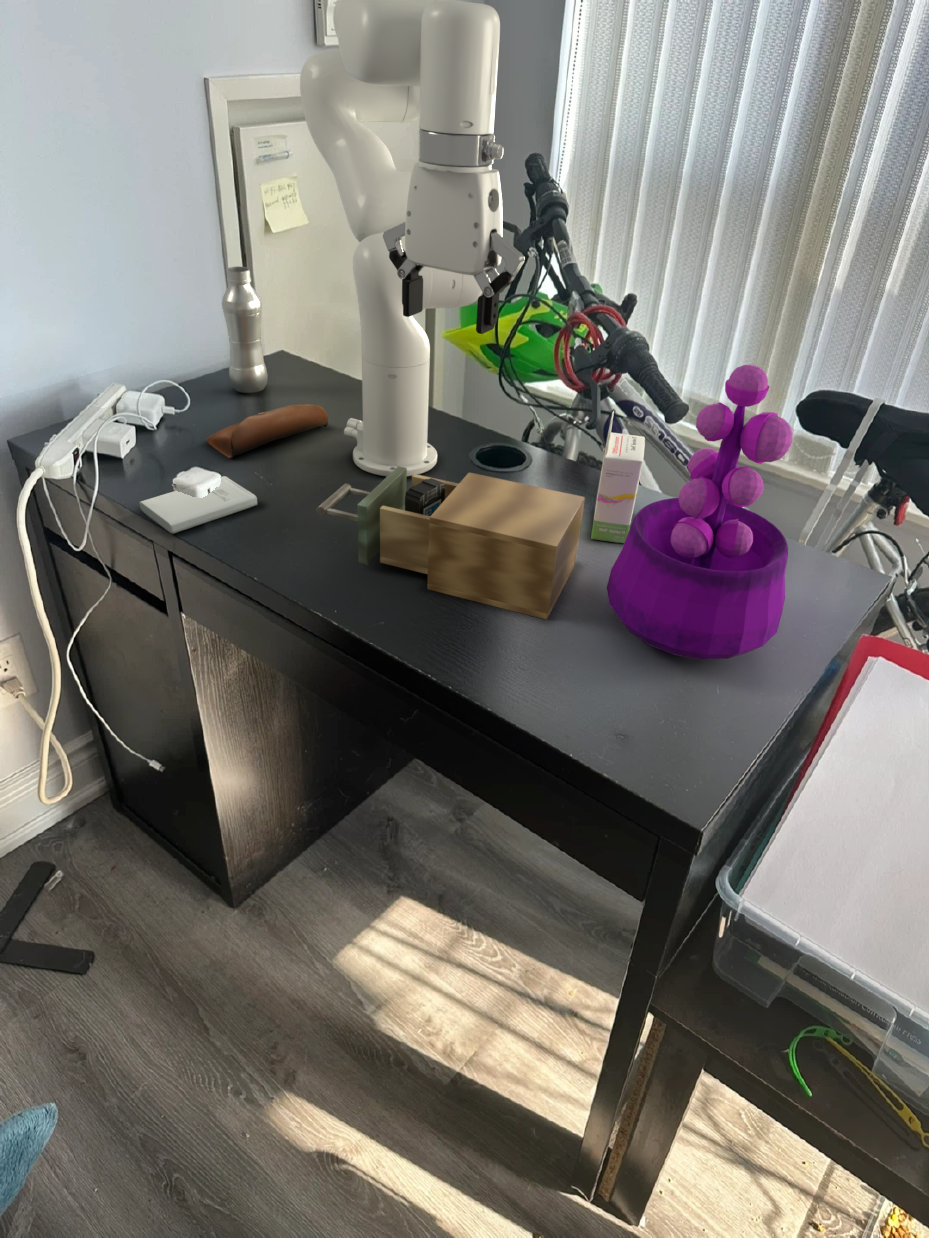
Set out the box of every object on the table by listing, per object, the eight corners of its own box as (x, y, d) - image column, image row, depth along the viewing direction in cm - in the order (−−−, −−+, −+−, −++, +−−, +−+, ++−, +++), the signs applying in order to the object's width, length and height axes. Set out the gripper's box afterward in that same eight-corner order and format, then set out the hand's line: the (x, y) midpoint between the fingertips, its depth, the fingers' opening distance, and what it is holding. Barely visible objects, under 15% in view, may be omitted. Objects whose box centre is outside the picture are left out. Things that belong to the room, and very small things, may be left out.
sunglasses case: (295, 410, 138) (307, 382, 133) (320, 442, 137) (333, 415, 132) (201, 440, 127) (209, 411, 122) (227, 475, 126) (237, 447, 121)
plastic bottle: (224, 395, 143) (210, 272, 132) (239, 382, 149) (227, 262, 137) (260, 399, 143) (249, 276, 131) (274, 386, 148) (265, 266, 137)
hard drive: (141, 511, 109) (224, 484, 117) (172, 536, 105) (257, 506, 112) (138, 500, 108) (223, 474, 116) (170, 524, 104) (256, 495, 111)
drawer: (309, 550, 102) (305, 492, 97) (351, 510, 111) (350, 455, 106) (463, 589, 97) (467, 530, 92) (495, 544, 106) (500, 488, 101)
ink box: (628, 545, 109) (648, 439, 100) (589, 540, 110) (607, 433, 101) (630, 515, 116) (650, 413, 107) (594, 510, 116) (611, 408, 108)
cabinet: (427, 589, 98) (429, 517, 92) (464, 540, 108) (468, 472, 102) (546, 620, 94) (556, 546, 89) (574, 566, 104) (585, 496, 98)
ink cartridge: (418, 556, 100) (420, 496, 95) (404, 550, 101) (404, 490, 96) (443, 540, 103) (446, 481, 99) (429, 534, 104) (431, 476, 100)
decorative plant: (766, 598, 100) (845, 348, 83) (777, 696, 85) (876, 416, 68) (608, 572, 103) (653, 325, 86) (593, 662, 88) (643, 386, 71)
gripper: (547, 159, 85) (530, 330, 95) (405, 140, 92) (403, 301, 101) (513, 165, 79) (499, 346, 89) (364, 145, 86) (367, 315, 96)
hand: (448, 322), depth 95 cm, fingers open, 9 cm apart
